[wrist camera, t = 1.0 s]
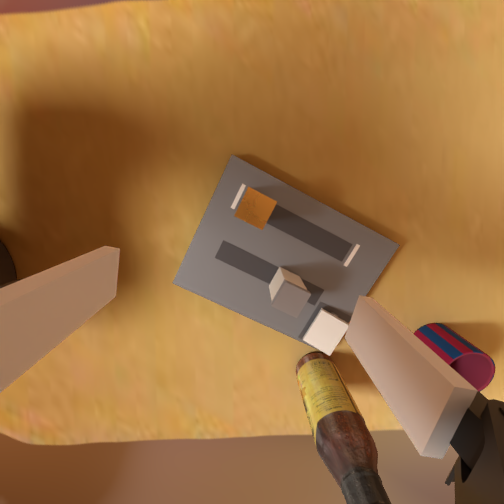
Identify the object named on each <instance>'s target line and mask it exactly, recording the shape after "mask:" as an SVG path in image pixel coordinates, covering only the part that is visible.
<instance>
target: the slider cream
mask: <svg viewBox="0 0 504 504" xmlns="http://www.w3.org/2000/svg"><path fill="white" fill-rule="evenodd" d="M269 290H270V295H271V300H272V302H271V306H272V307H274V308H276V309H278V310H280V311H283V312H285V313H287V314H289V315H291V316H293V317H295V318H297V317H298V315H299V314H300V312H301V310H302V309H303V307H304V305H305V304H306V302H307V301H308V299H309V297H310V296H311V293H310V291H308V290H307V288H306V287H305V285H304V283H303V281H302V280H301V278H300V276H298V275H296V274H294V273H292V272H289V271H287V270H285V269H283V268H281V267H279V269H278V270H277V272H276V274H275V276H274V277H273V279H272V281H271V283H270V285H269Z"/></svg>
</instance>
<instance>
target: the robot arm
mask: <svg viewBox="0 0 504 504" xmlns="http://www.w3.org/2000/svg"><path fill="white" fill-rule="evenodd" d="M119 256H120V248H115V247H110V246H103V247H101V248H98V249H96V250H93V251H91V252H88V253H86V254H83V255H81V256H79V257H76V258H74V259H71V260H69V261H66V262H64V263H61V264H59V265H57V266H54V267H52V268H49V269H47V270H44V271H42V272H39V273H37V274H35V275H32V276H30V277H27V278H24V279H19V280H16V273H15V268H14V265H13V262H12V259H11V257H10V255H9V253H8V251H7V250H6V248H5V247H4V245H3V244H2V243H1V241H0V393H1V392H2V391H3V390H4V389H5V388H7V387H8V386H9V385H10V384H11V383H13V382H14V381H15V380H16V379H17V378H19V377H20V376H21V375H22V374H23V373H25V372H26V371H27V370H28V369H29V368H31V367H32V366H33V365H34V364H35V363H37V362H38V361H39V360H40V359H41V358H43V357H44V356H45V355H46V354H47V353H49V352H50V351H51V350H52V349H53V348H55V347H56V346H57V345H58V344H60V343H61V342H62V341H63V340H64V339H66V338H67V337H68V336H69V335H70V334H72V333H73V332H74V331H75V330H76V329H78V328H79V327H80V326H81V325H82V324H84V323H85V322H86V321H87V320H88V319H90V318H91V317H92V316H93V315H94V314H96V313H97V312H98V311H99V310H100V309H102V308H103V307H104V306H105V305H106V304H108V303H109V302H110V301H111V300H112V299H114V298H115V297H116V290H117V279H118V267H119ZM345 340H346V341H347V343H348V344H349V346H350V347H351V349H352V350H353V352H354V353H355V355H356V357H357V358H358V360H359V361H360V363H361V364H362V366H363V367H364V369H365V370H366V372H367V374H368V375H369V377H370V378H371V380H372V381H373V383H374V384H375V386H376V387H377V389H378V390H379V392H380V394H381V395H382V397H383V398H384V400H385V401H386V403H387V404H388V406H389V407H390V409H391V411H392V412H393V414H394V415H395V417H396V418H397V420H398V421H399V423H400V424H401V426H402V427H403V429H404V431H405V432H406V434H407V435H408V437H409V438H410V440H411V441H412V443H413V444H414V446H415V448H416V449H417V451H418V452H419V454H420V455H421V456H426V457H432V458H439V459H443V457H444V455H445V453H446V451H447V449H448V447H449V446H450V444H451V445H452V447H453V448H454V449H455V450H456V452H457V453H458V454H459V457H458V459H457V460H456V462H455V464H454V466H453V468H452V470H451V472H450V473H449V475H448V477H447V479H446V481H445V483H446V484H447V485H450V483H451V482H455V504H504V402H502V401H498V400H494V399H493V400H488V399H487V398H486V397H484V396H483V395H482V394H481V393H480V392H479V391H478V390H477V389H475V388H474V387H473V386H472V385H471V384H470V383H469V382H467V381H466V380H465V379H464V378H463V377H462V376H461V375H459V374H458V373H457V372H456V371H455V370H454V369H453V368H451V367H450V366H449V365H448V364H447V363H446V362H445V361H444V360H442V359H441V358H440V357H439V356H438V355H437V354H436V353H434V352H433V351H432V350H431V349H430V348H429V347H428V346H426V345H425V344H424V343H423V342H422V341H421V340H420V339H419V338H417V337H416V336H415V335H414V334H413V333H412V332H411V331H409V330H408V329H407V328H406V327H405V326H404V325H403V324H401V323H400V322H399V321H398V320H397V319H396V318H395V317H393V316H392V315H391V314H390V313H389V312H388V311H387V310H386V309H384V308H383V307H382V306H381V305H380V304H379V303H378V302H376V301H375V300H374V299H373V298H371V297H366V296H361V295H359V297H358V300H357V303H356V306H355V309H354V312H353V315H352V318H351V321H350V324H349V326H348V329H347V332H346V335H345Z"/></svg>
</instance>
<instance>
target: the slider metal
mask: <svg viewBox="0 0 504 504" xmlns="http://www.w3.org/2000/svg"><path fill="white" fill-rule="evenodd" d="M276 203H277V201H275V200H273V199H271V198H269V197H267V196H266V195H264V194H262V193H260V192H258V191H256V190H254V189H252V188H250V187H248V188H247V190H246V193H245V195H244V197H243V199H242V201H241V203H240V205H239V207H238V209H237V211H236V213H235V215H234V216H235V217H237V218H239V219H241V220H243V221H245V222H247V223H249V224H251V225H253V226H255V227H257V228H259V229H261V230H263V228H264V226H265V224H266V222H267V221H268V219H269V217H270V215H271V213H272V211H273V209H274V207H275V205H276Z"/></svg>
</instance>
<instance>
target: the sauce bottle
mask: <svg viewBox="0 0 504 504" xmlns="http://www.w3.org/2000/svg"><path fill="white" fill-rule="evenodd" d="M296 375H297V382H298V385H299V389H300V392H301V396H302V399H303V403H304V406H305V410H306V413H307V417H308V420H309V424H310V427H311V430H312V434H313V438H314V441H315V444H316V448H317V451H318V453H319V455H320V457H321V459H322V460H323V462H324V463H325V465H326V466H327V468H328V469H329V471H330V473H331V474H332V475H333V477H334V479H335V480H336V482H337V484H338V485H339V487H340V488H341V490H342V493H343V495H344V497H345V499H346V502H347V504H391V502H390V500H389V498H388V496H387V493H386V491H385V489H384V487H383V485H382V481H381V478H380V477H379V475H378V470H377V458H378V453H377V449H376V446H375V443H374V440H373V438H372V436H371V435H370V433H369V431H368V429H367V427H366V425H365V421H364V419H363V417H362V415H361V413H360V411H359V409H358V407H357V405H356V403H355V401H354V400H353V398H352V396H351V394H350V392H349V390H348V388H347V386H346V384H345V382H344V380H343V378H342V377H341V375H340V373H339V371H338V369H337V367H336V365H335V364H334V363H333V361H332V360H331V359H330V358H329V357H328V356H327V355H325V354H323V353H310V354H307V355H305V356H304V357H302V359H300V361H299V362H298V364H297V367H296Z"/></svg>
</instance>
